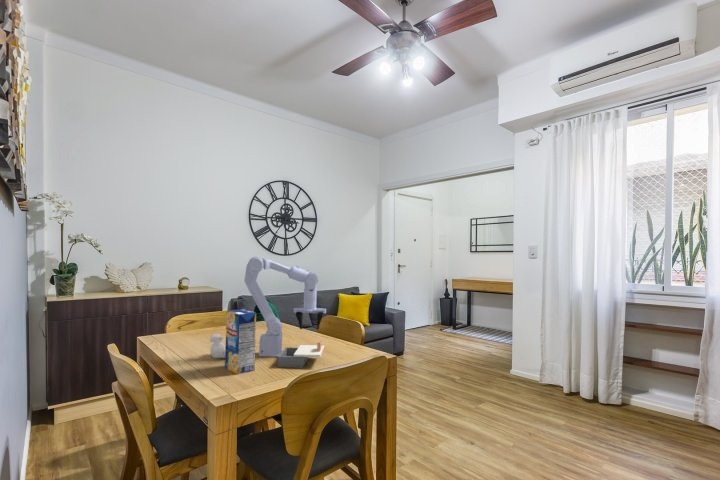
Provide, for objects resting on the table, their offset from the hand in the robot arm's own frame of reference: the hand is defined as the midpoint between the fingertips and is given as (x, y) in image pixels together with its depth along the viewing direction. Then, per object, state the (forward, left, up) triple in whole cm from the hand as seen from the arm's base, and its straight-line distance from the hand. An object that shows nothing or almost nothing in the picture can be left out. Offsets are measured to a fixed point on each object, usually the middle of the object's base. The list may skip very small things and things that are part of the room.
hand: (309, 328), depth 164 cm
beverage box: (-23, -25, -11) cm, 36 cm away
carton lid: (+2, -15, -6) cm, 16 cm away
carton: (-4, -15, -10) cm, 19 cm away
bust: (-37, -11, -11) cm, 40 cm away
